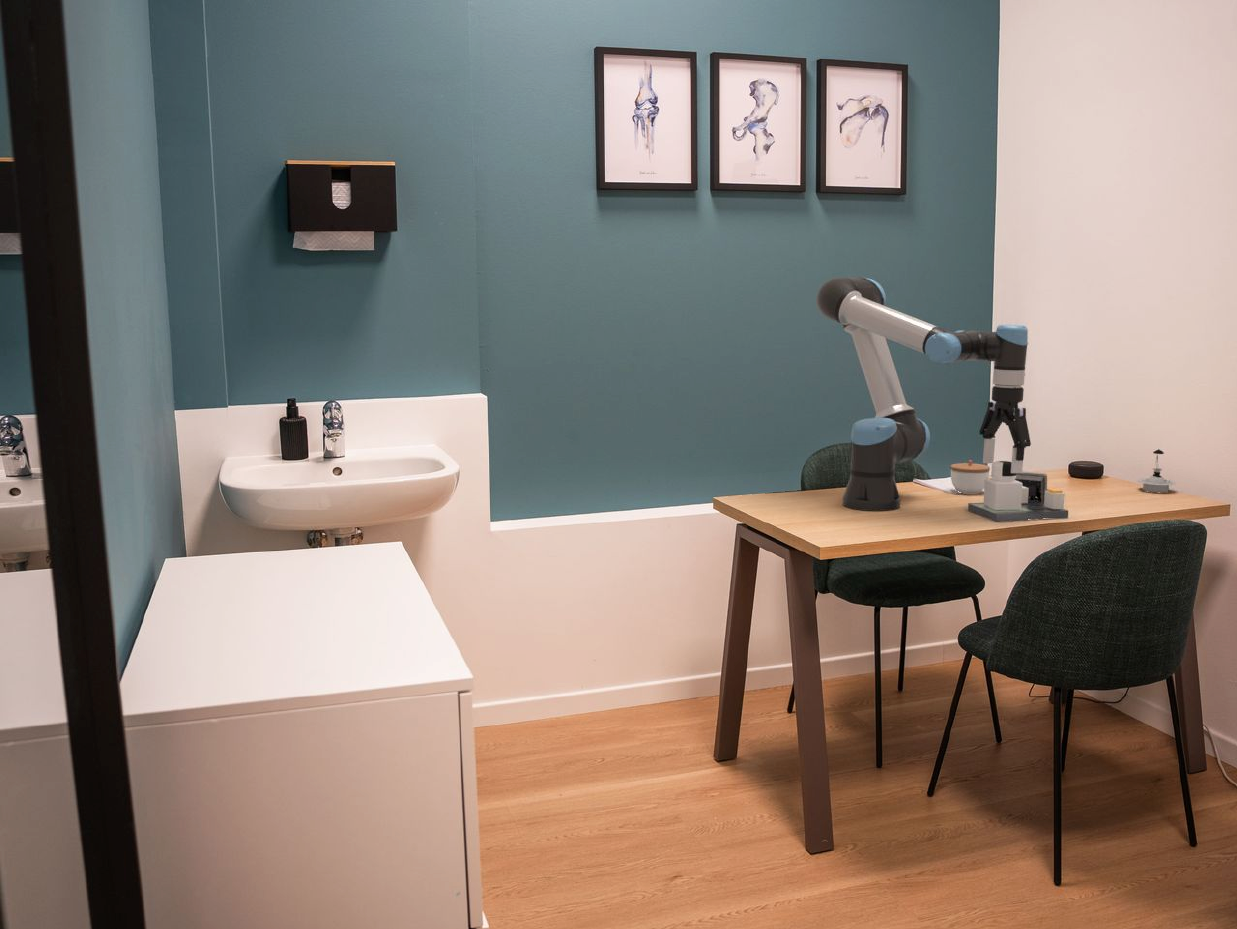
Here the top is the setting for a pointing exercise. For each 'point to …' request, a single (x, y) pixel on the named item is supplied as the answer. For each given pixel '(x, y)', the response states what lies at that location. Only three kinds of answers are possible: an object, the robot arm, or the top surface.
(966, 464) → the lidded jar
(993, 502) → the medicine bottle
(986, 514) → the panel
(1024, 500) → the breaker
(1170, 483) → the grey stand with stem
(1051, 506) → the block
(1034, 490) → the electrical switch
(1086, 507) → the top surface
